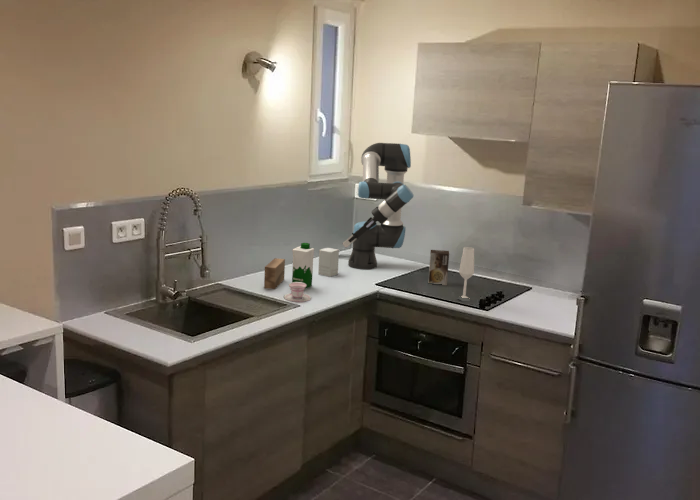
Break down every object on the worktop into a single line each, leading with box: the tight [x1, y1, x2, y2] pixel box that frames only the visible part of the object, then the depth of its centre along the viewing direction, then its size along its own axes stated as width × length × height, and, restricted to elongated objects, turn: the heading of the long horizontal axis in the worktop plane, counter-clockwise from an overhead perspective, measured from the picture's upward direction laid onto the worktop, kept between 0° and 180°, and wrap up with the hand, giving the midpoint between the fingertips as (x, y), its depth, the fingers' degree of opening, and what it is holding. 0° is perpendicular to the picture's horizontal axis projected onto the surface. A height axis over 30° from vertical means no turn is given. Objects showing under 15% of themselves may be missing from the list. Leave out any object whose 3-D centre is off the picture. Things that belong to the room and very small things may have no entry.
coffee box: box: [427, 249, 450, 286], centre depth 341 cm, size 9×6×16 cm
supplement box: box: [318, 247, 340, 277], centre depth 347 cm, size 7×7×13 cm
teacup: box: [283, 281, 312, 303], centre depth 307 cm, size 12×12×6 cm
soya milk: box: [291, 242, 315, 290], centre depth 322 cm, size 9×9×20 cm
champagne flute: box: [458, 246, 475, 298], centre depth 316 cm, size 7×7×24 cm
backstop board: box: [263, 257, 286, 290], centre depth 325 cm, size 5×17×10 cm, turn 171°
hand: (344, 245), depth 319 cm, fingers closed
